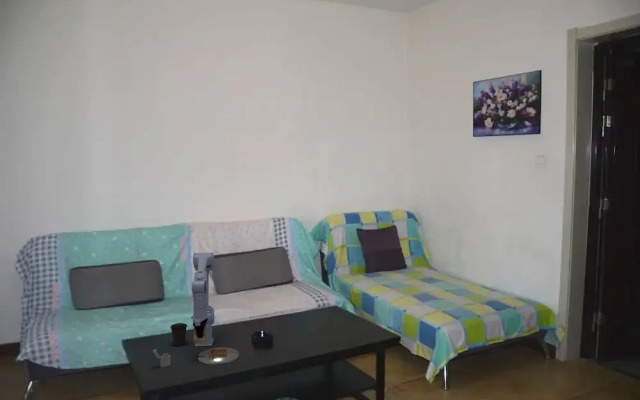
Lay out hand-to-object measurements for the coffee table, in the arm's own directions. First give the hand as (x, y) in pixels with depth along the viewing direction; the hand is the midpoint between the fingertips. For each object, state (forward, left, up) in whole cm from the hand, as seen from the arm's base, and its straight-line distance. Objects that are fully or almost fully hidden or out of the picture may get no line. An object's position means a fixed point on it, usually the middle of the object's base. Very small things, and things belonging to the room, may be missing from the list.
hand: (200, 336), depth 230 cm
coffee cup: (-18, -13, -10) cm, 24 cm away
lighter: (+9, -15, -10) cm, 20 cm away
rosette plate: (0, +8, -9) cm, 12 cm away
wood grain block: (0, 0, -3) cm, 3 cm away
